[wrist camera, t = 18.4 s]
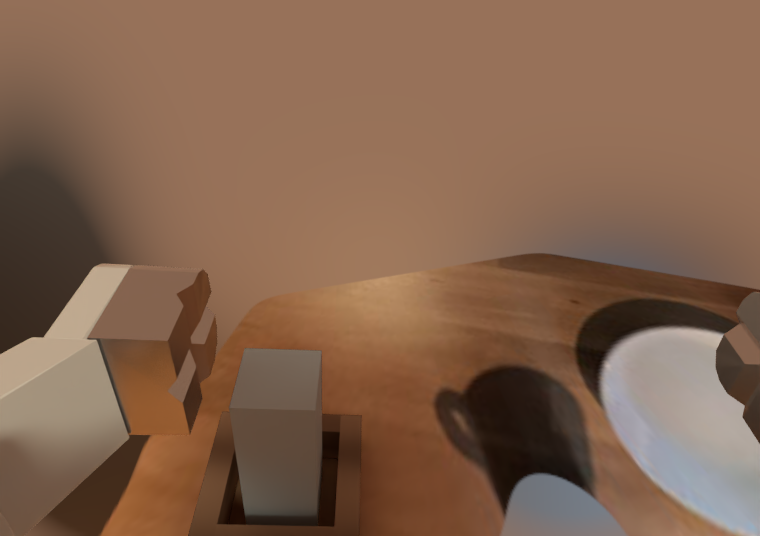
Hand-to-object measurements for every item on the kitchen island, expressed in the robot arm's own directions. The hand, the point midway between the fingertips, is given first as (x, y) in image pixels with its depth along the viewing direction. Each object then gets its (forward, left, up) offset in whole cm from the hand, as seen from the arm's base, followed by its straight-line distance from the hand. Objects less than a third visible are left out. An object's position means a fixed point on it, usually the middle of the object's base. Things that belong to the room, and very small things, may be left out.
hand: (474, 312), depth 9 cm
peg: (-9, -14, -30) cm, 34 cm away
